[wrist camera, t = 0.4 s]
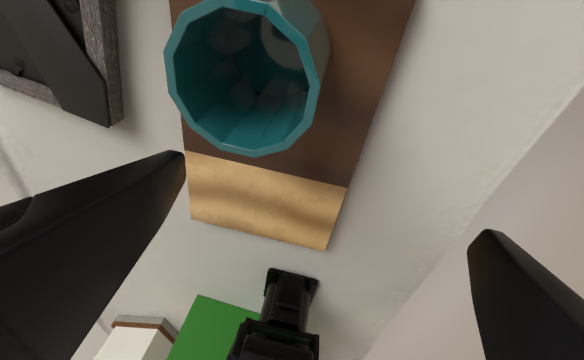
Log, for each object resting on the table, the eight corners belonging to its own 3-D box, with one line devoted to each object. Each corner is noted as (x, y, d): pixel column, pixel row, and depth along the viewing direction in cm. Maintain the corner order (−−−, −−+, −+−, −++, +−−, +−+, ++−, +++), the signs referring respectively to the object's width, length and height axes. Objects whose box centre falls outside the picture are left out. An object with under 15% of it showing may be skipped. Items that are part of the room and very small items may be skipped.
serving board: (325, 243, 31) (324, 251, 30) (196, 211, 32) (191, 219, 31) (418, -21, 16) (422, -20, 15) (172, -69, 17) (161, -71, 16)
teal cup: (318, 108, 21) (302, 169, 14) (228, 88, 21) (173, 139, 15) (342, -1, 16) (335, 16, 10) (229, -24, 17) (153, -21, 10)
